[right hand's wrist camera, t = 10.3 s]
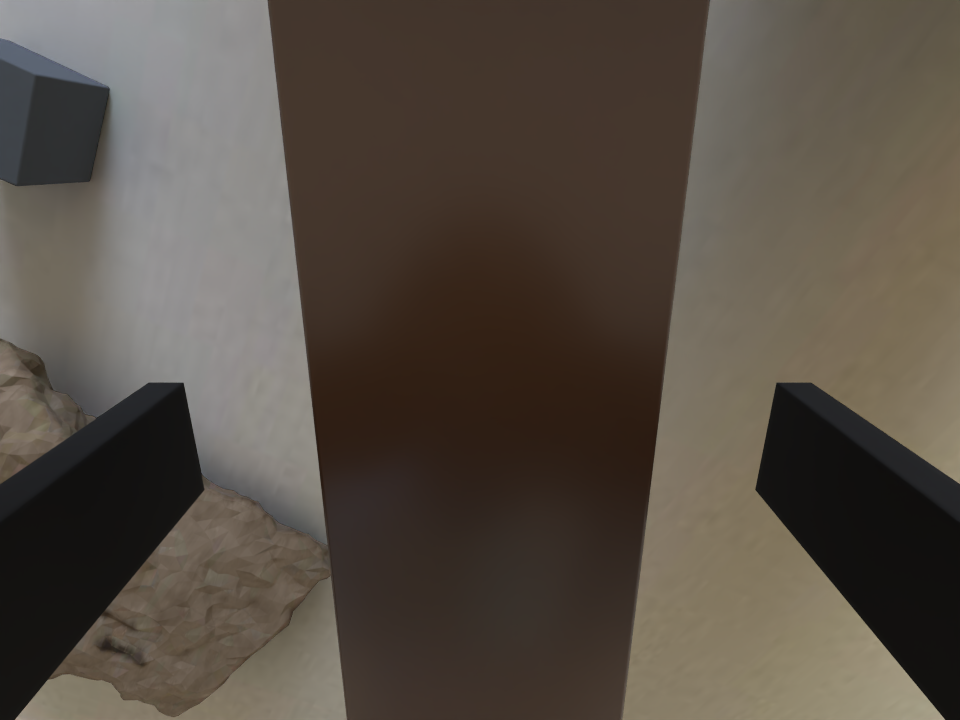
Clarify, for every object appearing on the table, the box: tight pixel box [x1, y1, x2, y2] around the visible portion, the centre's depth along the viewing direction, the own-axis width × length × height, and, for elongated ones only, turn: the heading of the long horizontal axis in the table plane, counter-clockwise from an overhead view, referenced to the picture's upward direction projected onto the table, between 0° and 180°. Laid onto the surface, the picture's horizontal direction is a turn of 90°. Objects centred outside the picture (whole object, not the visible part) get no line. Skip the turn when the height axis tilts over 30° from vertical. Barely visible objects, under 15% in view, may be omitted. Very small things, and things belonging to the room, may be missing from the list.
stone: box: [0, 339, 331, 717], centre depth 30 cm, size 21×15×6 cm
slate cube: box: [0, 39, 109, 186], centre depth 23 cm, size 4×4×4 cm
